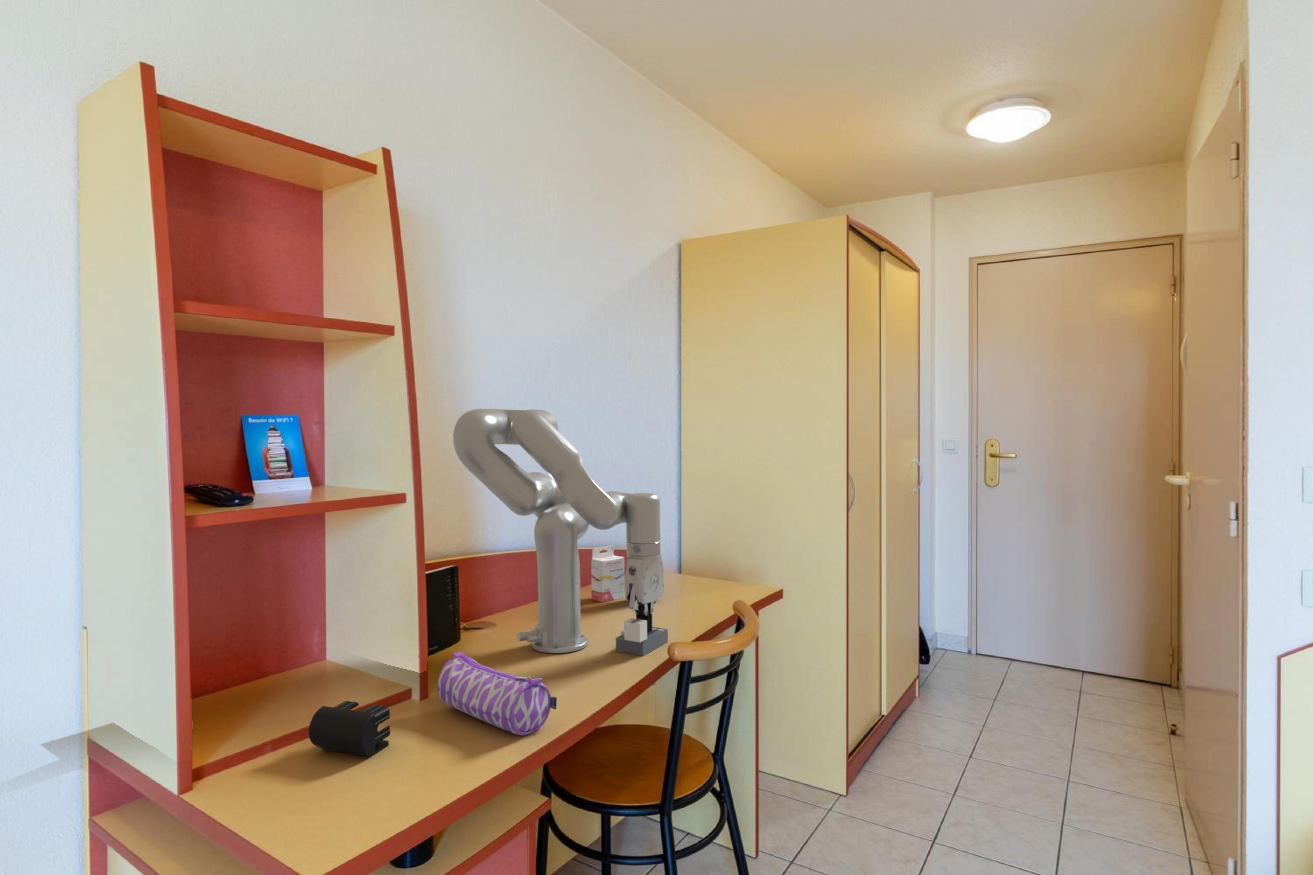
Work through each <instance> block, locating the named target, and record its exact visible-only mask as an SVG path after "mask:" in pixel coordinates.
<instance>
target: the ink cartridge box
mask: <svg viewBox="0 0 1313 875" xmlns="http://www.w3.org/2000/svg"><path fill="white" fill-rule="evenodd" d="M603 550H604V551H605V552H602V551H603ZM590 563H591V566H590V567H591V572H590V573H591V576H590V577H591V579H590V580H591V586H590V587H591V600H593V601H596V602H599V603H606V602H610V601H614V600H619V598H620V599H623V598H622V597H624V598H625V556H619V555H615V545H613V544H612V545H606V546H598V547H593V548H592V549H591V562H590ZM605 601H606V602H605Z"/></svg>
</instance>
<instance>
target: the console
mask: <svg viewBox="0 0 1313 875" xmlns="http://www.w3.org/2000/svg"><path fill="white" fill-rule="evenodd" d="M668 632H669V631H668V628H664V627H656V626H652V631H651V632H649V633H647V639H646V640H644V641H642V642H634V641H629V640H624V629H623V630H621V631H620V635H618V636H616V637H615V652H618V651H619V652H620V653H625V654H629V653H631V654H630V655H635V654H636V656H640V655H641V657H644V656H646V655H647V653H648V654H650V653H652V652H653V651H654V650H657V649H659V648H660V647H661V646H663V645H665V644H667V643H668V641H669V640H668V638H669V634H668Z"/></svg>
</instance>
